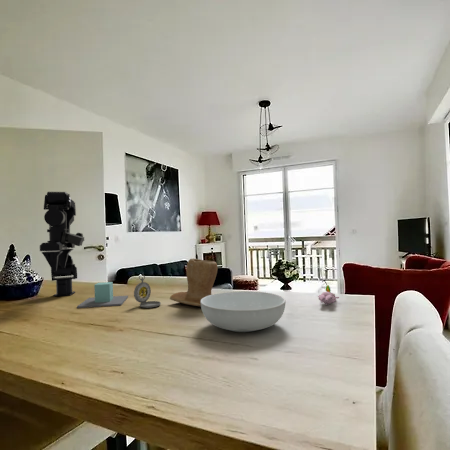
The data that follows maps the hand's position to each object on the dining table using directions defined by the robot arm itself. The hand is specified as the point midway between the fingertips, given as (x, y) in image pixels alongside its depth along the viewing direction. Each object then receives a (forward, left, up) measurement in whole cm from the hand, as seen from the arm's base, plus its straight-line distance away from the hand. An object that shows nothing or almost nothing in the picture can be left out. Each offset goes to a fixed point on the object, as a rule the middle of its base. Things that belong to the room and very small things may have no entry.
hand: (59, 269), depth 117 cm
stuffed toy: (+28, +89, -12) cm, 94 cm away
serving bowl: (+45, +59, -12) cm, 75 cm away
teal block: (+5, +17, -11) cm, 21 cm away
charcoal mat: (+5, +17, -12) cm, 21 cm away
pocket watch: (+15, +33, -12) cm, 38 cm away
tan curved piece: (+17, +49, -12) cm, 53 cm away
